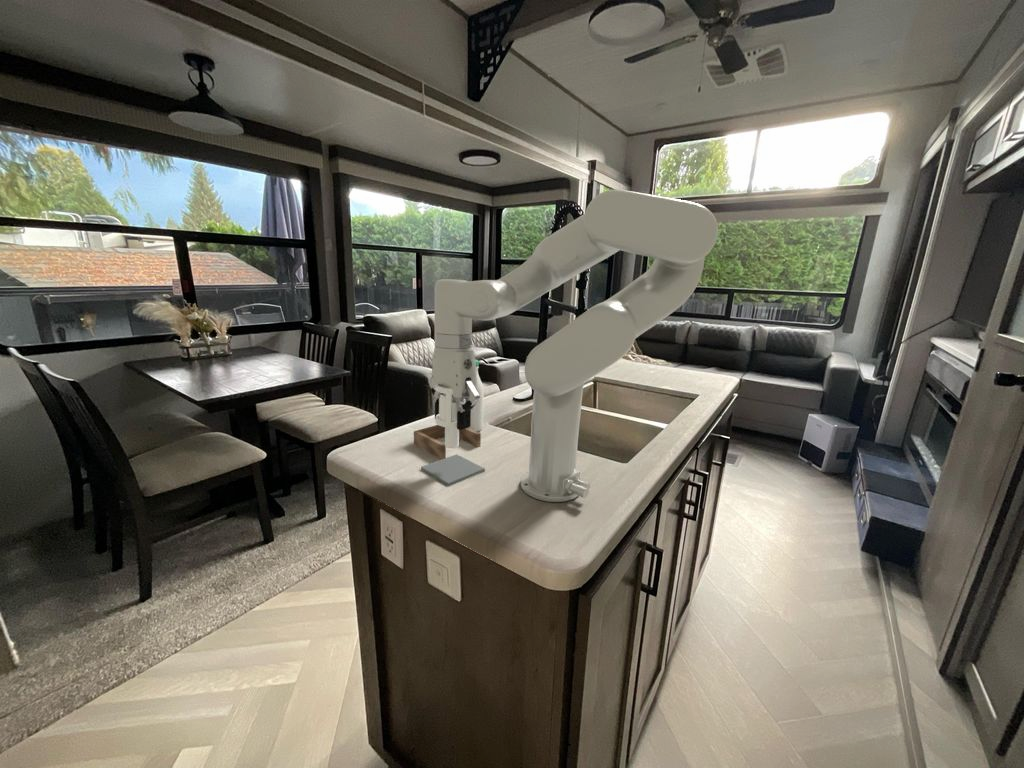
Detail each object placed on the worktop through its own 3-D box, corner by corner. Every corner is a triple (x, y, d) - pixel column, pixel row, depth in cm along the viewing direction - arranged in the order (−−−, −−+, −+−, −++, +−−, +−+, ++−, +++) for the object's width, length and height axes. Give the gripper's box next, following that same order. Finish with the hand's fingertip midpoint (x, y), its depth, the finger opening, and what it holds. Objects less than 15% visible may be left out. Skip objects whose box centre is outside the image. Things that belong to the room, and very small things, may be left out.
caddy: (480, 446, 103) (480, 433, 102) (442, 459, 94) (442, 445, 93) (451, 432, 111) (451, 421, 110) (413, 444, 102) (413, 431, 101)
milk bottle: (484, 424, 118) (486, 358, 113) (480, 434, 110) (481, 363, 105) (459, 423, 119) (459, 356, 114) (452, 432, 111) (453, 361, 106)
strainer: (464, 453, 84) (466, 384, 80) (431, 450, 84) (431, 382, 81) (470, 440, 91) (472, 376, 87) (440, 438, 91) (440, 374, 88)
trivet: (484, 471, 89) (484, 468, 89) (448, 485, 82) (448, 483, 82) (456, 456, 96) (456, 454, 96) (421, 469, 89) (421, 466, 89)
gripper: (495, 346, 79) (492, 430, 83) (442, 335, 90) (442, 409, 95) (466, 349, 74) (464, 439, 78) (413, 337, 85) (414, 416, 90)
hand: (452, 422), depth 86 cm, fingers closed on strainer, 7 cm apart
